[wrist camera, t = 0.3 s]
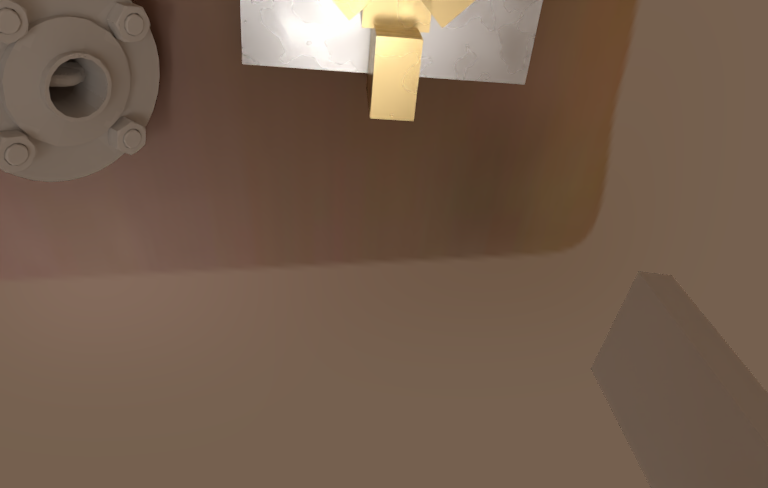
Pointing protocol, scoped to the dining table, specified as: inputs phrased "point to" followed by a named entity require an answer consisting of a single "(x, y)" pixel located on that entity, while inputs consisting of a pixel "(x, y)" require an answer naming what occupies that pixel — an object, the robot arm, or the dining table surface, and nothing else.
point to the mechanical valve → (73, 85)
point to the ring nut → (397, 48)
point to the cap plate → (351, 42)
